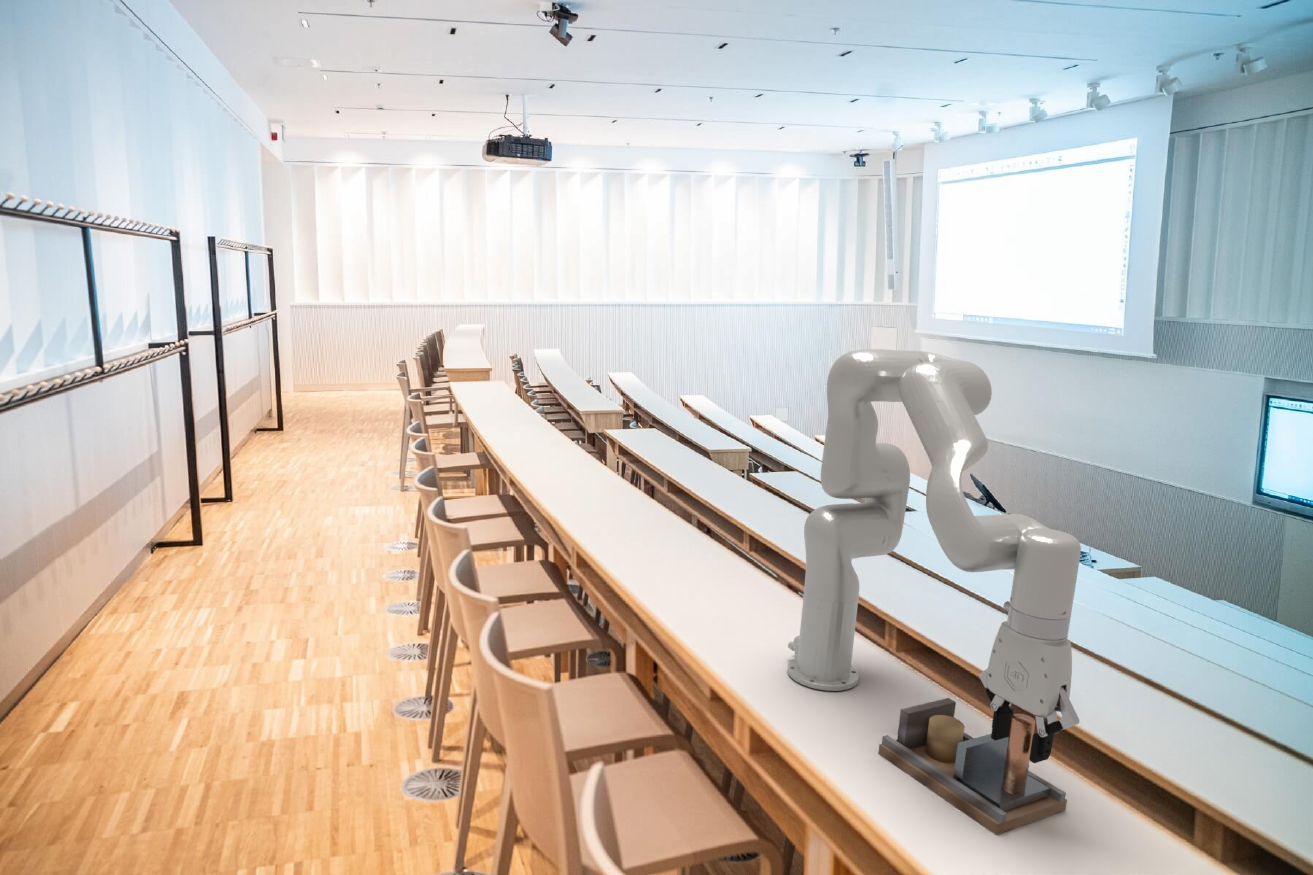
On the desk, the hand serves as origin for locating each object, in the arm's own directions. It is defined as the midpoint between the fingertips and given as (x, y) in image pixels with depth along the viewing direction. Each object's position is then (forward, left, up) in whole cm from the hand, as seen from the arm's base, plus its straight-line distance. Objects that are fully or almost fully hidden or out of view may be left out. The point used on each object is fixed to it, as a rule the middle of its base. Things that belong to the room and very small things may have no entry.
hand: (1019, 747), depth 124 cm
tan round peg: (-12, 0, -8) cm, 15 cm away
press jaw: (-2, 0, -7) cm, 8 cm away
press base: (-8, 0, -9) cm, 12 cm away
